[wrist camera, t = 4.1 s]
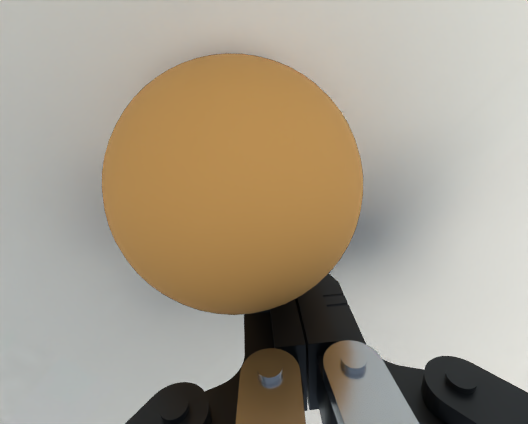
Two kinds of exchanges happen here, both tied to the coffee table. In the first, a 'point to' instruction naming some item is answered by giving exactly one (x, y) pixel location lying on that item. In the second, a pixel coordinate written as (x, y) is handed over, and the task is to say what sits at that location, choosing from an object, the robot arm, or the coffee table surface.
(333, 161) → the ball
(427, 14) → the coffee table surface
